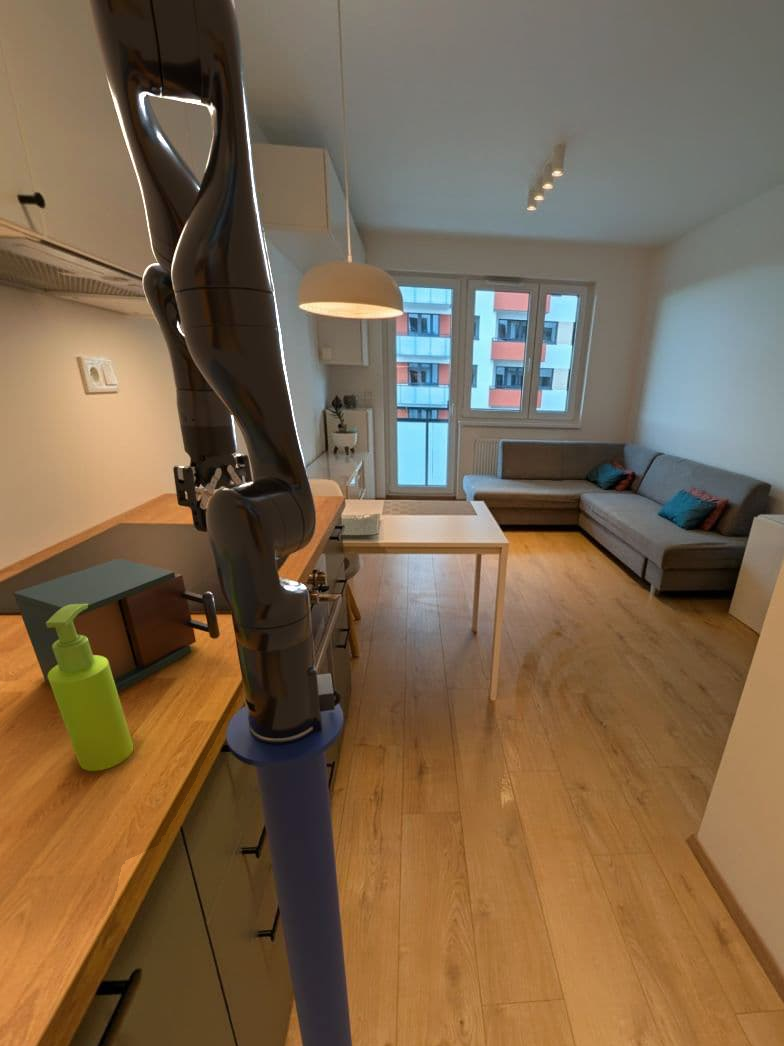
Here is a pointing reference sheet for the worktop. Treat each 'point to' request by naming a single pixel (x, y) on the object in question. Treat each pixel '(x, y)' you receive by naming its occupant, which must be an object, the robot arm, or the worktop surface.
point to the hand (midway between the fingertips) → (222, 523)
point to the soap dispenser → (87, 696)
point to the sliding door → (165, 620)
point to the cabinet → (94, 615)
